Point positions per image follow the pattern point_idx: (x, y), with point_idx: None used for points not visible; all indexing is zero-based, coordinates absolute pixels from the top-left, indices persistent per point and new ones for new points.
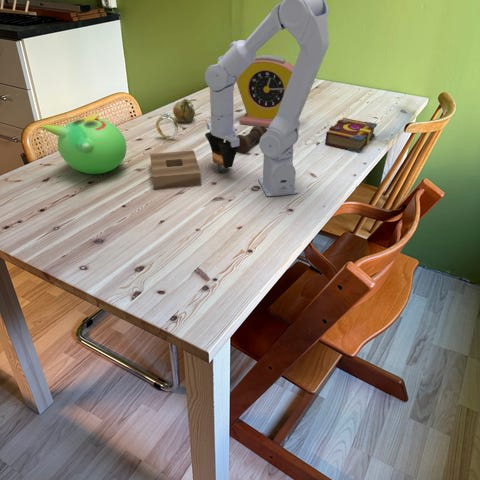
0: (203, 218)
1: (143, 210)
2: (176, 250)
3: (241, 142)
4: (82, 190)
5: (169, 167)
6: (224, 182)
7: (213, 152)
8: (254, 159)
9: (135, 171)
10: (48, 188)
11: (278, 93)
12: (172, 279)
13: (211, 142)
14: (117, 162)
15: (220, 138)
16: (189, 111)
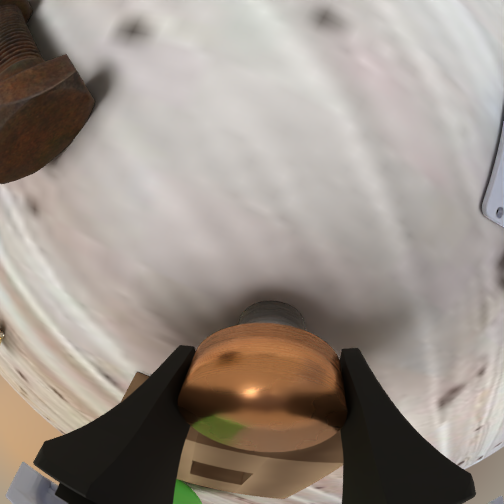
0: (468, 423)
1: None
2: (477, 444)
3: (24, 133)
4: (229, 493)
5: (248, 484)
6: (387, 361)
7: (216, 439)
8: (195, 61)
9: None
10: (206, 497)
11: None
12: (499, 440)
13: (174, 484)
14: (188, 500)
15: (138, 474)
16: None
